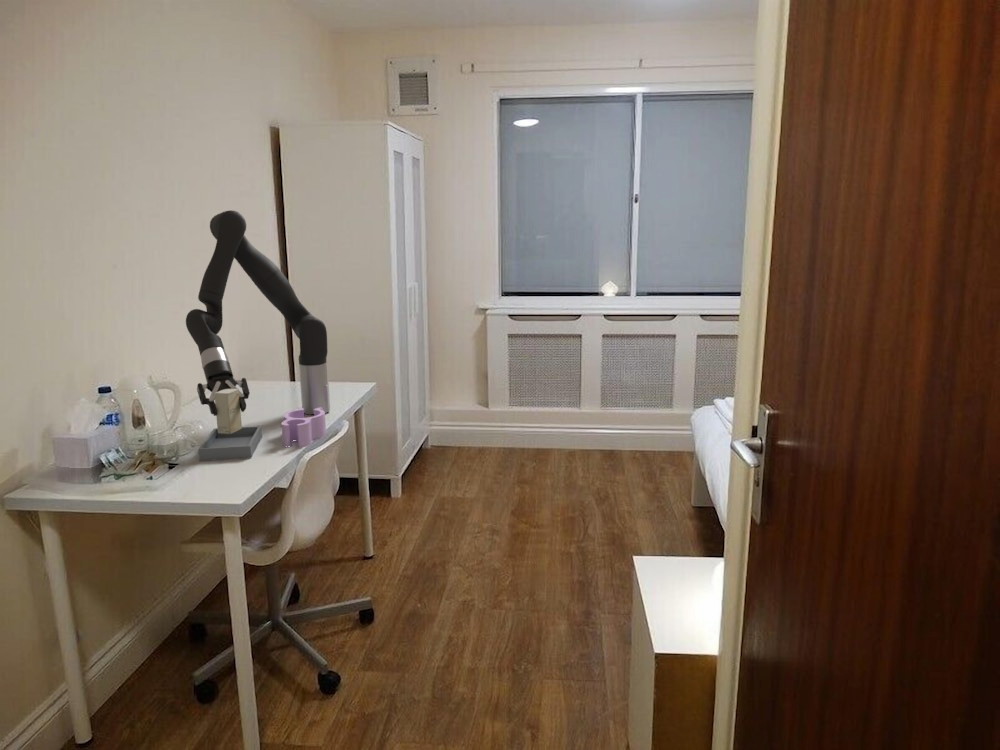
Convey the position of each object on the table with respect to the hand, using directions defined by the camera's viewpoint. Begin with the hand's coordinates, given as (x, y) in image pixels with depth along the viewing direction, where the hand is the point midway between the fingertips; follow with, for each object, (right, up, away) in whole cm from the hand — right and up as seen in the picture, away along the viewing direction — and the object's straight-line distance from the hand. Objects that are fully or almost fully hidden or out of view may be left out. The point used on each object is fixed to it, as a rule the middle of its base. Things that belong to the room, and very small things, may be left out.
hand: (229, 412), depth 210 cm
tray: (-1, -11, +4) cm, 11 cm away
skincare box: (-1, -6, +3) cm, 6 cm away
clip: (+18, -9, +14) cm, 24 cm away
